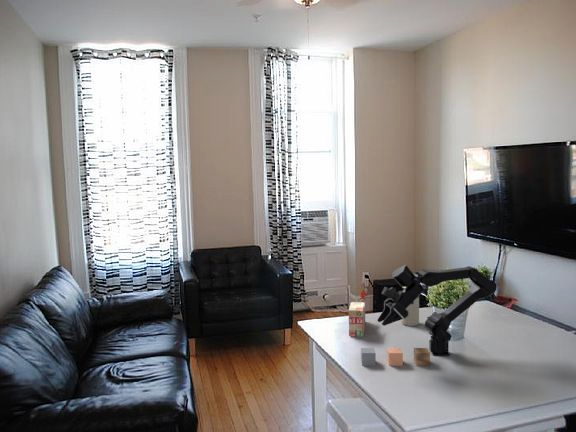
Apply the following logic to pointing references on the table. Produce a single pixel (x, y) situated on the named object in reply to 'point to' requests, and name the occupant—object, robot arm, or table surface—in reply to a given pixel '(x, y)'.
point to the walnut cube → (421, 357)
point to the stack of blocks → (356, 319)
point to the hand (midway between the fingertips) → (380, 323)
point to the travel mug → (412, 314)
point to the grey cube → (368, 357)
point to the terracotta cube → (394, 356)
